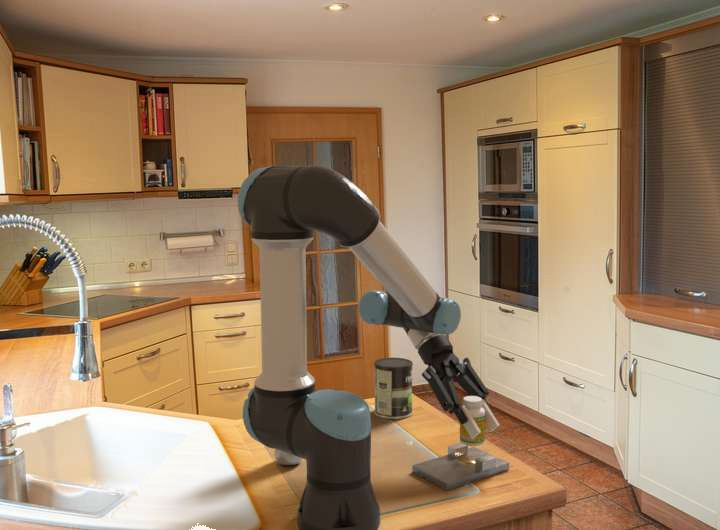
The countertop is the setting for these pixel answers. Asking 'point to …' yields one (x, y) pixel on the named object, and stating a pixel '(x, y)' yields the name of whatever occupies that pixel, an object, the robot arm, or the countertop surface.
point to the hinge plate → (460, 466)
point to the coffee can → (393, 388)
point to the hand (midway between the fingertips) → (485, 431)
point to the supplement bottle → (478, 415)
